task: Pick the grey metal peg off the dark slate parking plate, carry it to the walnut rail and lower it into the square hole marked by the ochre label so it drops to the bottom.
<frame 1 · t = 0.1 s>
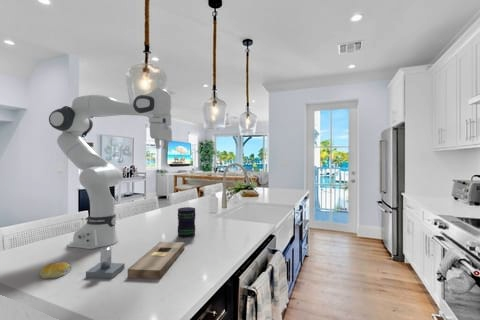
hand: (161, 149, 124), 48 cm above the countertop, tool pointing down, fingers open, 8 cm apart
parking plate: (105, 272, 92), on the countertop
bread roll: (55, 274, 91), on the countertop
metal peg: (105, 267, 92), point 2 cm above the countertop, touching parking plate
storage jar: (186, 235, 139), on the countertop
walnut rail: (160, 261, 103), on the countertop
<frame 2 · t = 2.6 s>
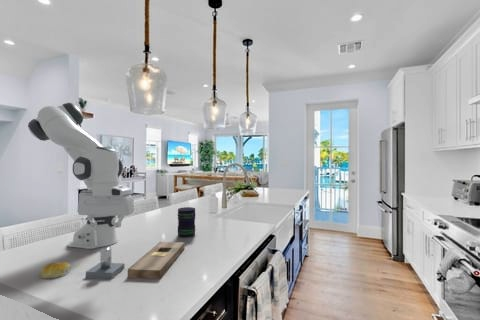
hand: (105, 226, 92), 17 cm above the countertop, tool pointing down, fingers open, 8 cm apart
nothing on the countertop moved.
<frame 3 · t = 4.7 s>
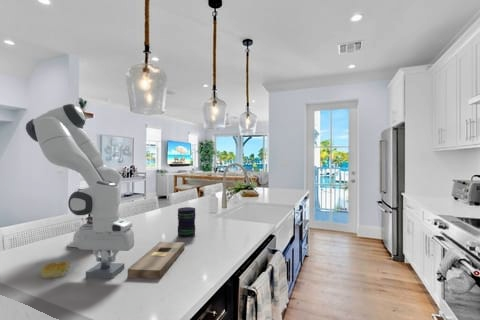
hand: (105, 261, 92), 4 cm above the countertop, tool pointing down, fingers closed on metal peg, 4 cm apart
metal peg: (105, 267, 92), point 2 cm above the countertop, touching gripper, parking plate
everything else where it was.
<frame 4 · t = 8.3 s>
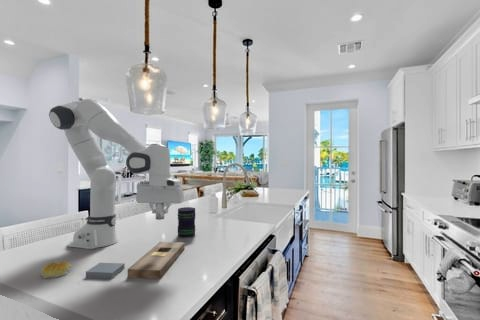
hand: (160, 213, 106), 19 cm above the countertop, tool pointing down, fingers closed on metal peg, 4 cm apart
metal peg: (159, 218, 106), point 17 cm above the countertop, touching gripper
everything else where it was.
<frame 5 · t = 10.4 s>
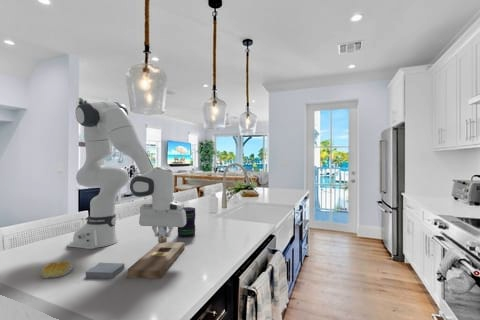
hand: (162, 236, 107), 9 cm above the countertop, tool pointing down, fingers closed on metal peg, 4 cm apart
metal peg: (162, 241, 107), point 7 cm above the countertop, touching gripper
everything else where it was.
when the fingers open (5 cm above the countertop, at t = 12.0 s): metal peg drops 3 cm, resting in walnut rail.
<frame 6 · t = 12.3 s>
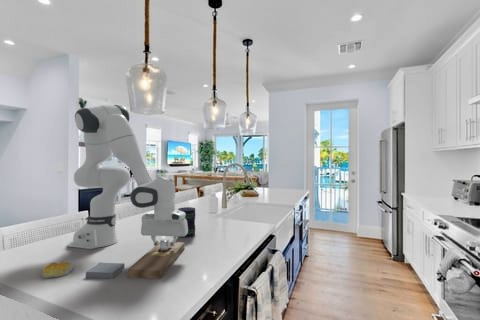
hand: (164, 245, 108), 5 cm above the countertop, tool pointing down, fingers open, 6 cm apart
metal peg: (164, 256, 108), resting in walnut rail
everything else where it was.
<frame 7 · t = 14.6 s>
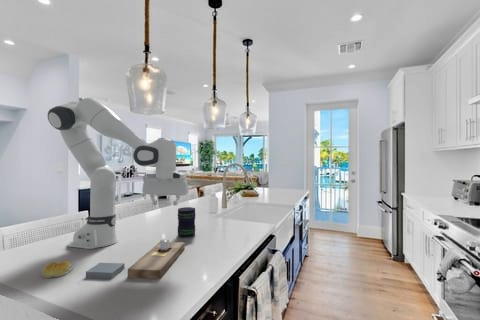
hand: (165, 204, 111), 22 cm above the countertop, tool pointing down, fingers open, 8 cm apart
nothing on the countertop moved.
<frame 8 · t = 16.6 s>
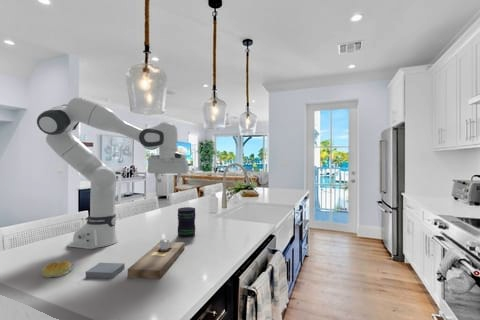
hand: (168, 182, 123), 31 cm above the countertop, tool pointing down, fingers open, 8 cm apart
nothing on the countertop moved.
at the end: metal peg 0.0 cm from the target spot on the walnut rail, point 0.0 cm above the walnut rail's base; metal peg tilted 0°; the gripper is holding nothing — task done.
